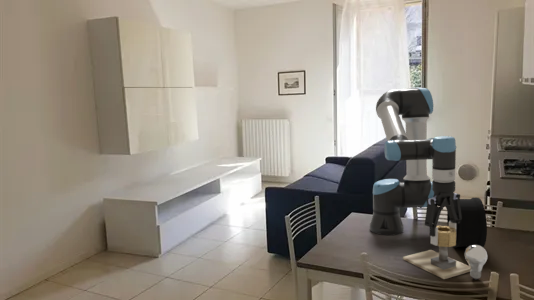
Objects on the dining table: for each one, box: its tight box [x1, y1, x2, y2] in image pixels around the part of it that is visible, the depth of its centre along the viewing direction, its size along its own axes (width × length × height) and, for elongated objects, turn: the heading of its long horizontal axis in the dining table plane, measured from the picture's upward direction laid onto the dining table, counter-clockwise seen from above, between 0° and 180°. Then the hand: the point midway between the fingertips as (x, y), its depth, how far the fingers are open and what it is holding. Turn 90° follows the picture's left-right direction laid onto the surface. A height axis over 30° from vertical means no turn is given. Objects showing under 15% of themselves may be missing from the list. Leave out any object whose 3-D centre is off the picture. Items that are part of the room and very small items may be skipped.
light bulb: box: [464, 245, 488, 280], centre depth 142 cm, size 7×7×12 cm
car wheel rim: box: [446, 197, 488, 248], centre depth 170 cm, size 20×10×20 cm, turn 168°
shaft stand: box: [402, 246, 470, 280], centre depth 155 cm, size 20×14×11 cm
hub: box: [436, 225, 456, 248], centre depth 151 cm, size 8×8×5 cm
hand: (443, 242), depth 152 cm, fingers closed on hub, 8 cm apart
